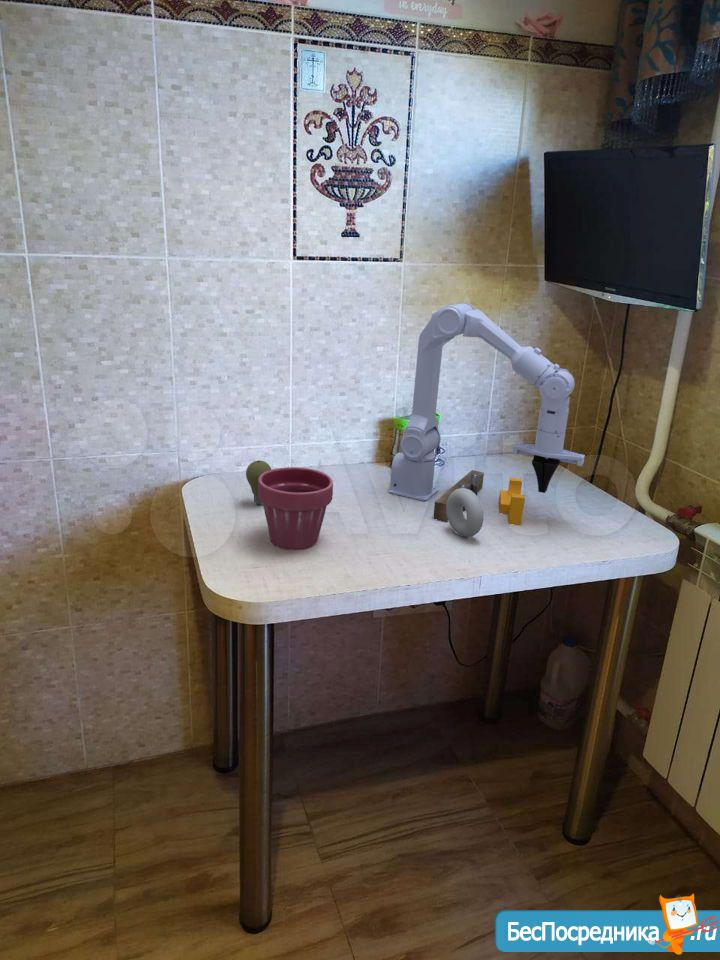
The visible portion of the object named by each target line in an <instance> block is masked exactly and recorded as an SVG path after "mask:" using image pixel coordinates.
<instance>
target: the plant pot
mask: <svg viewBox="0 0 720 960" xmlns="http://www.w3.org/2000/svg"><path fill="white" fill-rule="evenodd" d="M333 491H334V481H333V478H331V476H330V475H328V474H327V473H325V472H323V471H320V470H317V469H313V468H307V467H299V466H298V467H297V466H296V467H295V466H289V467H280V468H279V467H277V468H273V469H272V470H269V471H266V472H264V473H263V474H261V475H260V476H259V479H258V499H259V500H260V501H261V502H262V503H263V504H262V507H263V510H264V516H265V520H266V524H267V528H268V531H269V532H268V533H269V538H270V541H271V543H272V545H274V546H275V547H277V548H279V549H282V550H286V551H287V550H288V551H302V550H307V549H309V548H312V547H314V546H315V545H316V544H317V543H318V539H319V537H320V532H321V529H322V525H323V522H324V518H325V514H326V509H327V506H328V505H329V504H331V502H332V501H333V497H334V496H333V495H334V492H333Z"/></svg>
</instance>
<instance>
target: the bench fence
mask: <svg viewBox="0 0 720 960" xmlns="http://www.w3.org/2000/svg"><path fill="white" fill-rule="evenodd" d="M484 475H485V472H482V471H477V470H473V469H472V470H470V471H469V472H468V473H467V474H466V475H464V476H463V477H462V478H461V479H459V480H458V481H457V482H456V483H455V484H454V485H453V486H451V487H450V488H448V490H446V491H445V492H444V493H443V494H442V495H441V496H440V497H438V498H437V499H436V500H435V501H434V506H433V520H435V519H437V521H440V520H441V521H440V522H444V521H445V523H447V522H449V521H448V518H447V513H446V505H447V500H448V498H449V496H450V494H451V493H452V492H453V491H455V490H456V489H460V488H465V489H469V490H471V491H472V492H473V493H475V494H476V496H477V497H478V495H479V494H478V493H479V492H480V491H481V490H482V489H483V484H484ZM464 512H466V510H465V508H464V506H463V513H464Z"/></svg>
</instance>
